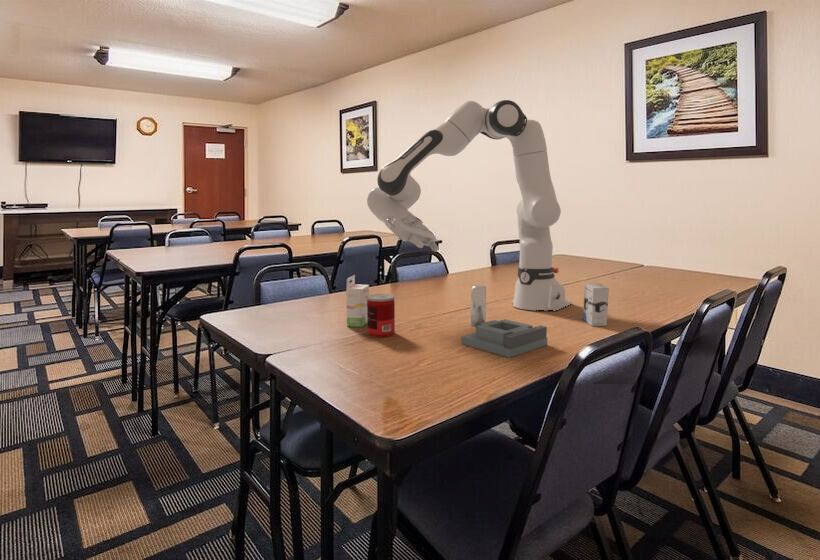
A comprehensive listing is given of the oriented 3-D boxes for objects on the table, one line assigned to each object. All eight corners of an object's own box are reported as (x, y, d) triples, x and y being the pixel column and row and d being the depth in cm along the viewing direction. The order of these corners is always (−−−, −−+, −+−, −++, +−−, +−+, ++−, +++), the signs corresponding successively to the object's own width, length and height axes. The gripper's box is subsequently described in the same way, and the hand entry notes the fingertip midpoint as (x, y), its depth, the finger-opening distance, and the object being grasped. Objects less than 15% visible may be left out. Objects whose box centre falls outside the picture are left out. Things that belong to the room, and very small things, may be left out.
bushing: (477, 322, 159) (478, 284, 157) (488, 325, 156) (489, 286, 154) (467, 325, 156) (468, 286, 154) (478, 327, 153) (479, 288, 151)
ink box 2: (582, 319, 162) (584, 283, 160) (597, 319, 162) (600, 283, 160) (590, 326, 154) (592, 287, 152) (607, 326, 154) (609, 287, 152)
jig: (499, 332, 147) (500, 315, 146) (547, 345, 135) (547, 326, 134) (461, 343, 137) (461, 325, 136) (509, 357, 125) (509, 337, 124)
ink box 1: (362, 327, 154) (361, 279, 151) (346, 326, 155) (345, 278, 152) (370, 320, 162) (369, 274, 160) (355, 320, 163) (354, 274, 161)
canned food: (398, 331, 149) (398, 294, 147) (388, 338, 142) (388, 299, 140) (374, 329, 152) (373, 293, 150) (363, 336, 144) (362, 298, 142)
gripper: (389, 209, 160) (418, 235, 154) (422, 220, 177) (449, 244, 171) (378, 225, 162) (406, 252, 156) (412, 234, 179) (438, 258, 173)
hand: (429, 248), depth 163 cm, fingers open, 8 cm apart
